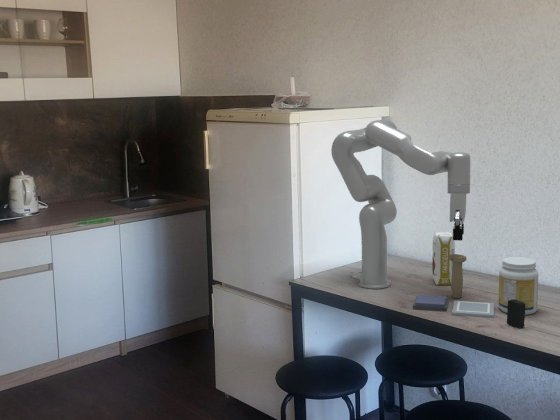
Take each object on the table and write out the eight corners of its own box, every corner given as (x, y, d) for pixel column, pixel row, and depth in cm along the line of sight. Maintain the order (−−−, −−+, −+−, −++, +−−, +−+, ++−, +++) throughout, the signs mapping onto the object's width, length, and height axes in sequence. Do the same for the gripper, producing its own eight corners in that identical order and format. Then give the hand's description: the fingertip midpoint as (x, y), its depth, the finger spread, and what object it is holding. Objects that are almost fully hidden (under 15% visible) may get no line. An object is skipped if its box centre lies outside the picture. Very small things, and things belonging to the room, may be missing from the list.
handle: (458, 300, 234) (458, 259, 232) (445, 296, 240) (445, 255, 237) (468, 298, 236) (469, 257, 234) (455, 294, 242) (456, 253, 239)
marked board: (452, 314, 220) (452, 311, 220) (454, 302, 232) (454, 300, 232) (493, 317, 216) (493, 314, 216) (493, 305, 228) (493, 302, 228)
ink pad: (412, 309, 227) (412, 303, 226) (416, 299, 237) (416, 293, 237) (446, 311, 223) (446, 305, 223) (448, 301, 234) (448, 295, 233)
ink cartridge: (524, 327, 206) (525, 302, 205) (519, 329, 205) (520, 304, 204) (511, 322, 211) (513, 298, 209) (506, 324, 210) (507, 299, 208)
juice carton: (451, 279, 261) (452, 231, 257) (454, 285, 252) (455, 236, 249) (431, 279, 261) (432, 231, 258) (434, 285, 253) (435, 236, 250)
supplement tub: (506, 302, 231) (507, 254, 228) (542, 308, 224) (544, 259, 221) (492, 311, 222) (493, 261, 219) (529, 318, 214) (531, 267, 211)
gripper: (449, 185, 241) (448, 232, 244) (445, 192, 225) (445, 242, 227) (470, 185, 238) (470, 232, 241) (469, 192, 222) (468, 242, 225)
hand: (458, 237), depth 234 cm, fingers open, 9 cm apart
